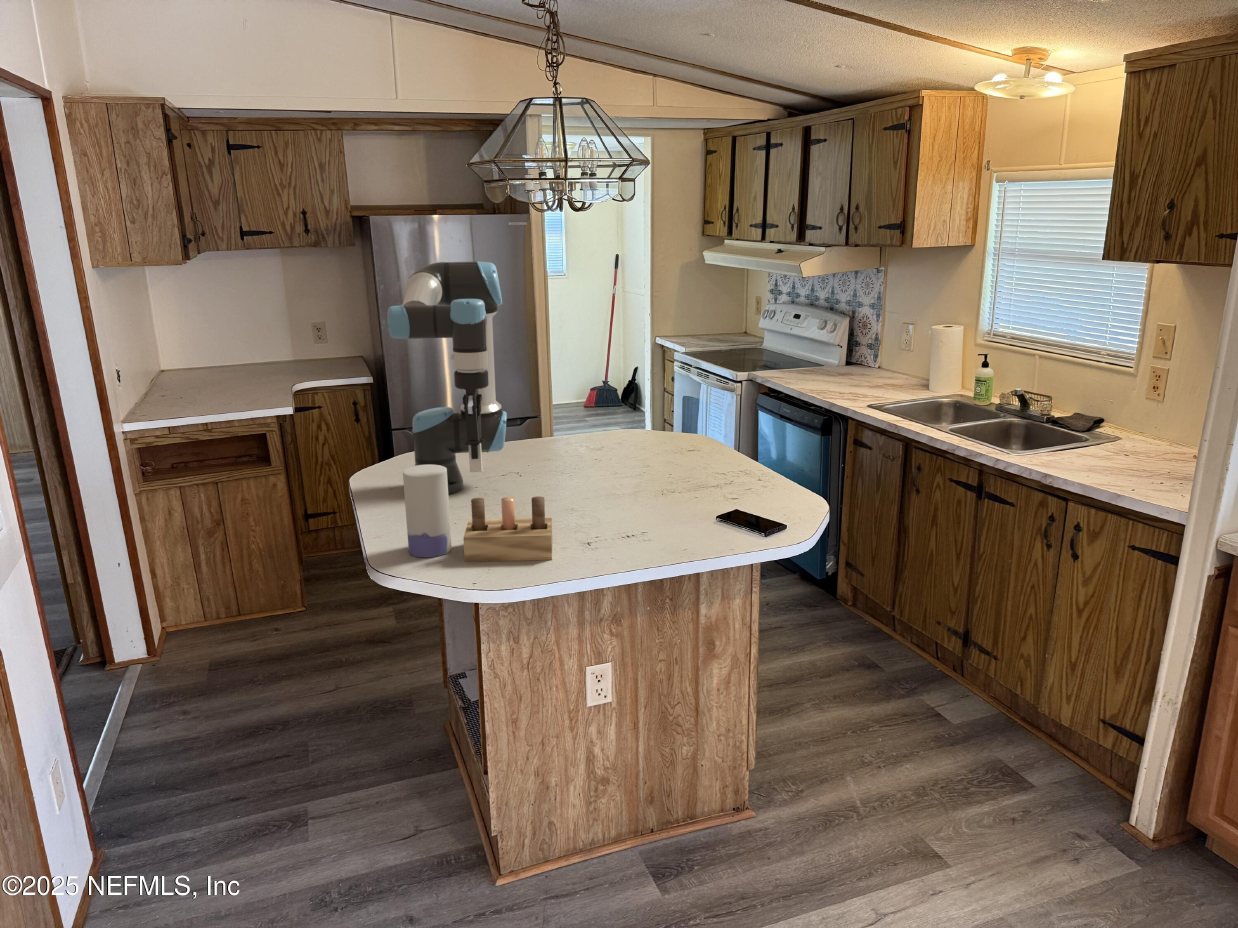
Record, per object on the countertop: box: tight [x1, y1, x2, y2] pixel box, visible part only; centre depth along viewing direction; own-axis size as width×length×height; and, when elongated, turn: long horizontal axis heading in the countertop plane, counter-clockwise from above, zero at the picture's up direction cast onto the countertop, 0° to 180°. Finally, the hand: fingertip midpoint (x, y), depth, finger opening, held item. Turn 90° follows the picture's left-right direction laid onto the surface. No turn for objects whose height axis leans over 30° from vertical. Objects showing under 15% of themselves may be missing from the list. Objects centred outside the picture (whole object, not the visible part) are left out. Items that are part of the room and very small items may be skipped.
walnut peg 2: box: [531, 496, 546, 530], centre depth 203 cm, size 3×3×8 cm
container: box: [402, 465, 453, 558], centre depth 203 cm, size 10×10×20 cm
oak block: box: [462, 517, 553, 563], centre depth 204 cm, size 12×20×6 cm, turn 94°
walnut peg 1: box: [470, 497, 486, 531], centre depth 202 cm, size 3×3×8 cm
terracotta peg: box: [501, 496, 516, 530], centre depth 202 cm, size 3×3×8 cm
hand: (476, 471), depth 199 cm, fingers closed
